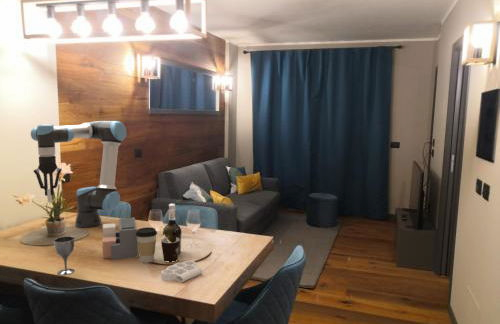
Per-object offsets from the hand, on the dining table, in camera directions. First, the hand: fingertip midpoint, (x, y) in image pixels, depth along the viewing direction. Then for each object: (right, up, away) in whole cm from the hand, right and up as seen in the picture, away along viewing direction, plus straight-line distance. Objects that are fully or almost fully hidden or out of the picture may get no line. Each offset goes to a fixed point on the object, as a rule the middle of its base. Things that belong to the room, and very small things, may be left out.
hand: (49, 201), depth 204 cm
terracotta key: (+33, -26, -7) cm, 42 cm away
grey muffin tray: (+72, -30, -28) cm, 82 cm away
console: (+38, -25, 0) cm, 45 cm away
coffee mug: (+65, -27, -11) cm, 71 cm away
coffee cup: (+53, -27, -13) cm, 60 cm away
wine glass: (+20, -29, -26) cm, 44 cm away
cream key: (+30, -25, +3) cm, 39 cm away
